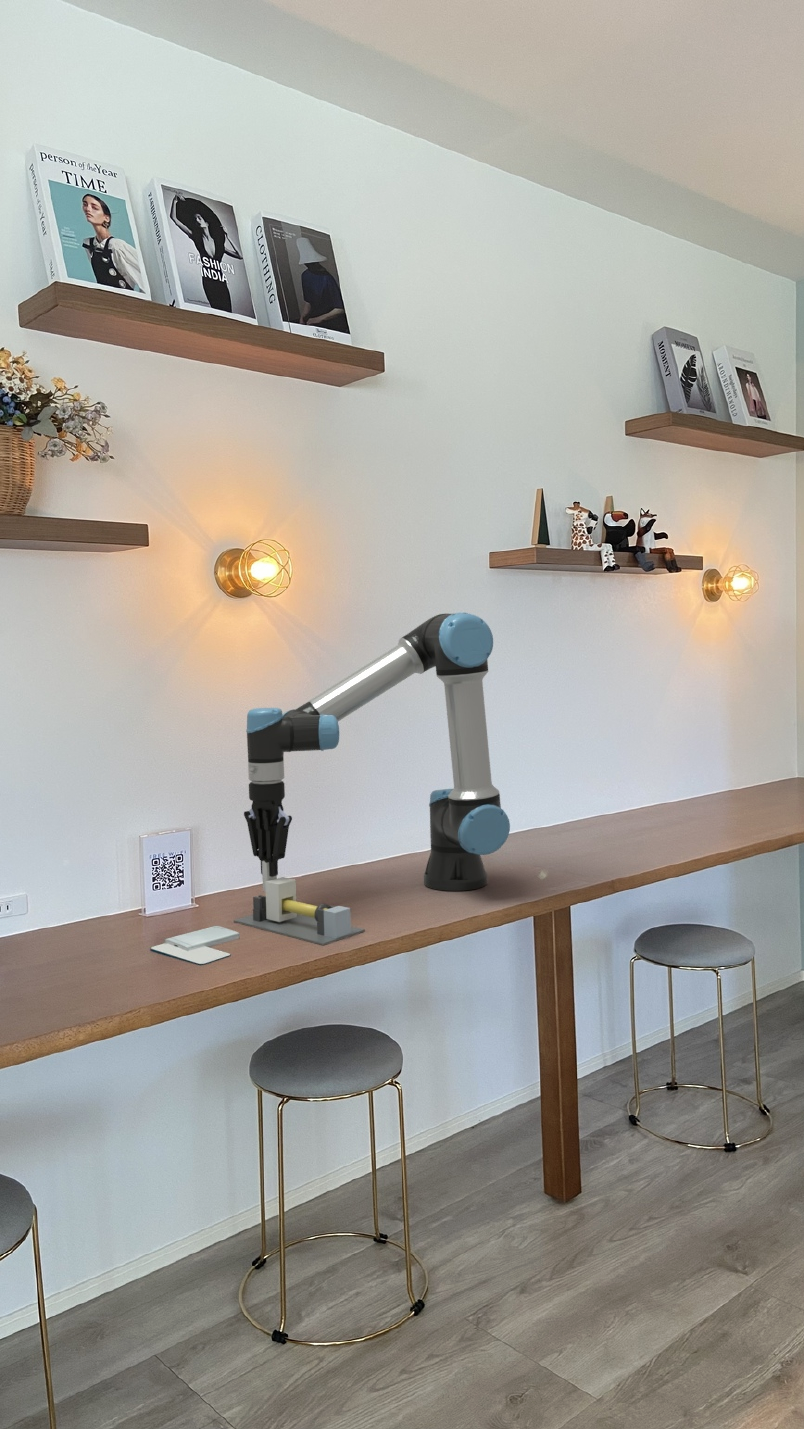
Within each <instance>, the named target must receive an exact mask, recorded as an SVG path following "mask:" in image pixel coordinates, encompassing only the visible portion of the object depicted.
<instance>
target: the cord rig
mask: <svg viewBox="0 0 804 1429" xmlns="http://www.w3.org/2000/svg"><path fill="white" fill-rule="evenodd" d="M252 908H253V909H252V914H251V915H246V916H243V917H240V918H236V919H233V923H237V924H241V925H245V926H248V927H252V928H256V929H260V930H263V931H266V932H271V933H274V934H279V935H282V936H286V937H288V938H289V937H290V938H293V939H296V940H297V939H298V940H301V941H305V942H309V943H312V944H316V945H320V946H326V945H330V944H331V943H335V942H339V941H340V940H344V939H347V938H349V937H354V936H355V935H358V934H361V933H364V932H366V929H364V928H361V927H357V926H352V924H351V923H352V921H351V920H352V915H351V907H346V906H342V905H337V906H336V905H328V904H324V903H320V904H318V905H313V904H310V903H309V904H308V903H305V902H300V901H297V900H296V901H292V900H288V899H282V910H284V911H288V912H292V913H296V914H297V917H294V918H291V919H288V920H284V921H281V922H277V921H273V920H269V919H266V894H263V895H262V894H260V895H258V896H253V897H252Z"/></svg>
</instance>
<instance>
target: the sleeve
mask: <svg viewBox="0 0 804 1429" xmlns="http://www.w3.org/2000/svg"><path fill="white" fill-rule="evenodd" d="M265 887H266V892H265V895H266V919H269V920H273V921H277V922H281V921H284V920H288V919H291V918H294V917H297V914H296V913H292V912H288V911H284V910H282V899H288V900H292V901H297V880H296V879H294V878H289V877H285V876H282V877H277V879H273V880H270V881H266V882H265Z"/></svg>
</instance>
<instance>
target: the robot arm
mask: <svg viewBox="0 0 804 1429" xmlns="http://www.w3.org/2000/svg"><path fill="white" fill-rule="evenodd" d="M493 647H494V637H493V633H492V629H491V628H490V626H489V625H488V623H487V622H486V621H485V620H483V619H482V617H480V616H478V615H476V614H471V613H468V612H455V613H439V614H436V615H434V616H432V617H430V618H428V619H427V620H426V621H424V622H422V623H421V624H419V625H418V626H416V627H415V628H414V629H413V630H411V631H409V632H408V633H407V634H405V635H403V636H402V637H400V638H399V640H398V644H397V645H395V646H394V647H393V648H391V649H389V650H388V651H387V652H385V653H383V654H382V655H380V656H379V657H377V658H375V659H374V660H372V661H371V662H369V663H367V664H365V665H364V666H363V667H360V668H359V669H358V670H356V671H355V672H353V673H351V674H350V675H348V676H347V677H345V678H344V679H341V680H340V681H339V682H337V683H335V684H333V685H332V686H330V687H329V688H327V689H326V690H324V691H323V692H322V693H320V694H318V695H316V696H315V697H313V698H312V699H310V700H308V701H307V702H305V703H303V704H302V705H300V706H299V707H298V708H295V709H289V710H287V711H285V712H284V713H283V711H282V709H281V708H280V707H279V708H278V707H257V708H251V709H250V710H249V711H248V712H247V714H246V729H245V730H246V741H247V744H246V746H247V761H248V762H247V765H248V766H247V768H248V780H249V781H250V782H249V783H248V798H249V800H250V801H252V804H251V808H250V809H248V810H247V811H243V816H244V818H245V820H246V823H247V827H248V828H247V829H248V833H249V839H250V844H251V849H252V850H251V851H252V855H253V856H254V857H257V858H258V860H260V874H261V875H262V877H261V878H262V892H265V893H266V887H265V882H266V881H270V880H273V879H277V878H278V877H277V876H278V874H279V872H278V871H279V869H278V868H279V867H278V866H279V865H278V863H279V862H278V861H279V860H281V859H284V858H285V857H286V850H287V844H288V843H287V842H288V837H289V836H288V835H289V831H290V830H289V829H290V825H291V823H292V820H293V816H292V815H287V814H286V813H285V812H284V806H283V804H282V801H283V800H284V798H285V796H286V792H285V788H286V786H285V782H284V779H285V762H284V761H285V760H284V753H290V752H305V751H306V752H311V751H321V752H324V751H325V750H333V749H336V748H337V746H338V745H339V742H340V726H339V722H340V721H341V720H343V719H345V718H346V717H347V716H349V715H351V714H352V713H354V712H355V711H357V710H359V709H360V708H362V707H363V706H365V705H366V704H368V703H370V702H371V701H373V700H374V699H376V698H378V697H379V696H381V695H382V694H384V693H385V692H387V691H388V690H390V689H392V688H394V687H395V686H397V685H399V684H400V683H401V682H402V681H405V680H406V679H408V678H409V677H411V676H412V675H414V674H419V675H422V674H424V673H425V672H427V671H428V670H430V669H432V668H435V672H436V677H437V678H438V679H439V680H440V681H441V682H442V683H443V687H444V695H445V696H444V697H445V704H446V705H445V706H446V716H447V717H446V718H447V727H448V728H447V729H448V737H449V738H448V739H449V749H450V760H451V768H452V779H453V788H445V789H437V790H433V791H432V792H430V796H429V804H428V807H429V826H430V828H429V831H430V832H429V833H430V835H429V836H430V854H429V857H428V860H427V863H426V867H425V871H424V873H423V885H424V886H425V887H427V888H430V889H433V890H438V891H447V892H449V891H453V892H454V891H455V892H456V891H457V892H458V891H461V892H462V891H472V890H477V889H480V888H483V887H485V886H486V885H487V884H488V875H487V874H488V873H487V871H486V870H485V866H484V862H483V858H482V856H486V855H490V854H493V853H495V852H496V851H498V850H499V849H501V848H502V846H503V845H504V844H505V843H506V842H507V839H508V838H509V835H510V832H511V831H510V830H511V823H510V819H509V817H508V814H507V813H506V812H505V810H504V809H502V806H501V795H500V790H499V789H498V788H497V787H496V786H494V784H493V783H492V782H493V781H492V773H491V761H490V759H491V758H490V750H489V736H488V728H487V718H486V706H485V696H484V684H483V683H484V682H483V680H484V678H485V676H486V675H487V674H488V672H489V665H488V662H489V661H488V659H489V657H490V655H491V654H492V652H493Z"/></svg>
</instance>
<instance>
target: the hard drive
mask: <svg viewBox="0 0 804 1429" xmlns="http://www.w3.org/2000/svg"><path fill="white" fill-rule="evenodd" d="M238 939H240V933H239V932H238V931H235V930H234V929H233V930H232V929H230V928H226V927H223V926H219V925H214V926H210V927H207V928H202V929H198V930H195V931H189V932H188V933H183V934H179V935H176V936H172V937H169V938H165V939H164V940H163V943H168V944H171V945H173V946H176V947H178V948H181V949H183V950H186V951H189V950H193V949H197V948H201V947H204V946H207V947H210V948H211V947H214V946H216V945H220V944H224V943H228V942H231V941H235V940H238Z"/></svg>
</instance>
